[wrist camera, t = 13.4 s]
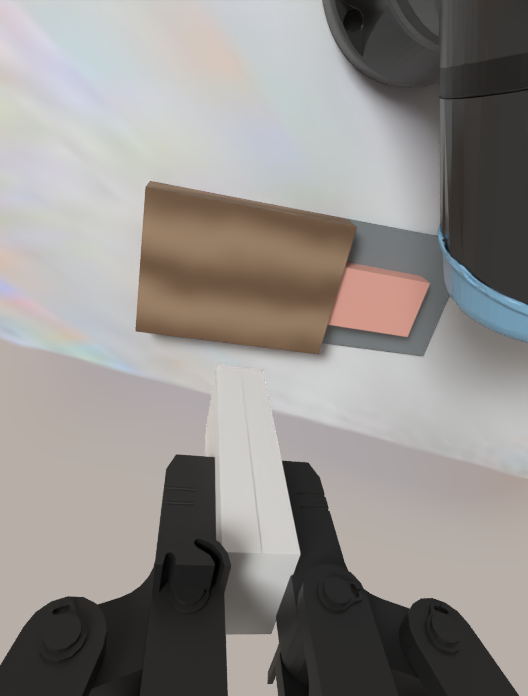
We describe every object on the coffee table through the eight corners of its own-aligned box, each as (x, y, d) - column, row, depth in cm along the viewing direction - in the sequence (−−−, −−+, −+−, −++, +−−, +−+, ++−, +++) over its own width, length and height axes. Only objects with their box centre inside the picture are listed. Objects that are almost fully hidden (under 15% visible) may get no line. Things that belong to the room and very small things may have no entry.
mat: (347, 218, 40) (348, 219, 40) (470, 242, 43) (471, 243, 43) (312, 340, 46) (312, 341, 46) (421, 354, 49) (422, 355, 49)
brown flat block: (150, 181, 37) (145, 186, 34) (347, 218, 40) (357, 226, 38) (139, 317, 43) (135, 331, 40) (312, 340, 46) (318, 354, 44)
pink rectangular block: (321, 315, 45) (325, 324, 43) (338, 260, 42) (343, 267, 40) (400, 328, 46) (407, 337, 45) (421, 276, 44) (430, 283, 42)
